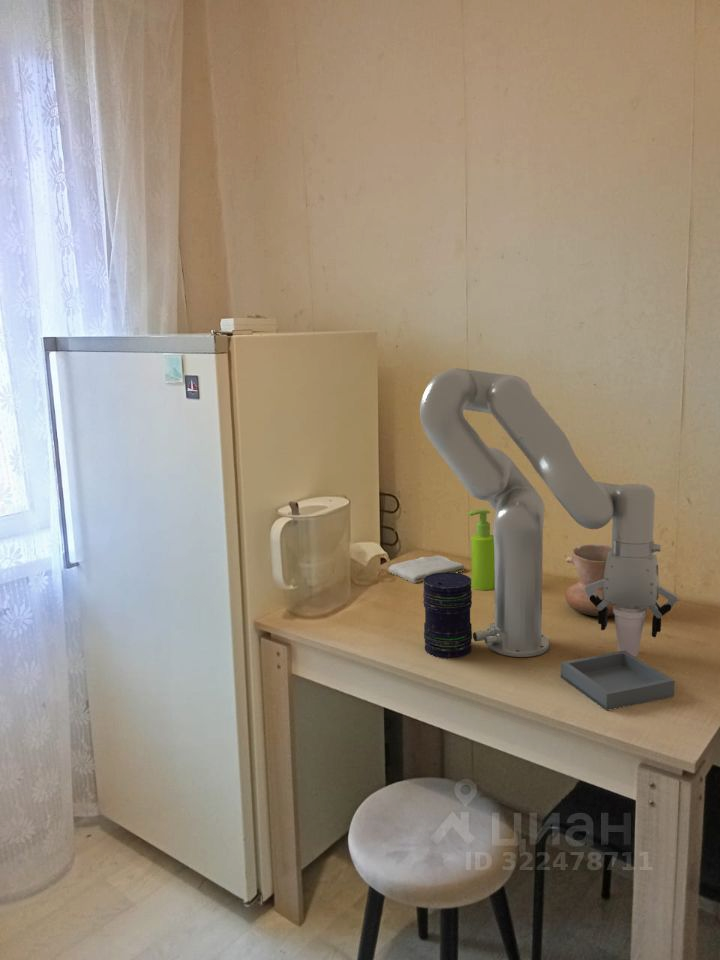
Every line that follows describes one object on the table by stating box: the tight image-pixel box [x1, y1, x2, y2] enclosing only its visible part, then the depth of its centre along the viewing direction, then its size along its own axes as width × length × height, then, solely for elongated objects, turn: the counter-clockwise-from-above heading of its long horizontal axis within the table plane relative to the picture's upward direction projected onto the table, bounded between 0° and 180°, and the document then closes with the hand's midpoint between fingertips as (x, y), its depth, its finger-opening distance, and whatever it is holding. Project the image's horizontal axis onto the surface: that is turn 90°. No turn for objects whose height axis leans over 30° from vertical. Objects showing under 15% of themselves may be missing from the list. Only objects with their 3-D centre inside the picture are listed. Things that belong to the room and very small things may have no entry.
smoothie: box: [613, 604, 648, 658], centre depth 154 cm, size 6×6×14 cm
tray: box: [560, 651, 676, 711], centre depth 141 cm, size 14×14×3 cm
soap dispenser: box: [467, 509, 495, 591], centre depth 196 cm, size 6×7×20 cm
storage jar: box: [422, 572, 473, 660], centre depth 159 cm, size 10×10×15 cm
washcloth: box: [387, 555, 465, 584], centre depth 211 cm, size 12×18×3 cm, turn 123°
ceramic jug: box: [564, 544, 615, 617], centre depth 177 cm, size 18×14×14 cm
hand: (628, 631), depth 154 cm, fingers open, 9 cm apart
